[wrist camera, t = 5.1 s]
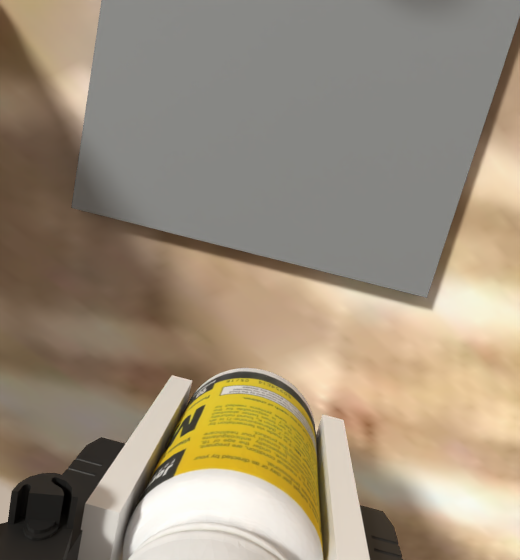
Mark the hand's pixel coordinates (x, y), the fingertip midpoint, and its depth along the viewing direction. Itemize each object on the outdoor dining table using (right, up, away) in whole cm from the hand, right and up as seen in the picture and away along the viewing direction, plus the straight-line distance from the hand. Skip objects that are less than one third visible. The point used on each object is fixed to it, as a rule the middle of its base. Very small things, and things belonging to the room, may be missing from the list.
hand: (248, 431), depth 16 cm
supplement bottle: (0, 0, +1) cm, 1 cm away
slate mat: (+1, +13, +4) cm, 14 cm away
